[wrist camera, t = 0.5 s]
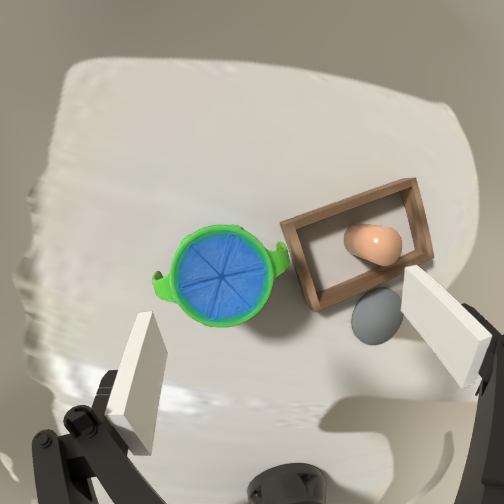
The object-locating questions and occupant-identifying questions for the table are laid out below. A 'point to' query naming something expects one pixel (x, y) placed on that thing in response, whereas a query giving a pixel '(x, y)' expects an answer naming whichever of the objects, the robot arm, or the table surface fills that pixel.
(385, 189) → the tray
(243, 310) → the snack cup
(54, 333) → the table surface
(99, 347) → the table surface
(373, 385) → the table surface
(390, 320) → the slate coaster
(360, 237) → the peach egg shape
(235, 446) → the table surface
